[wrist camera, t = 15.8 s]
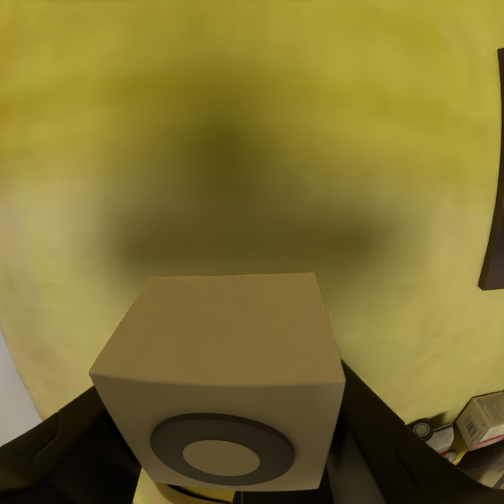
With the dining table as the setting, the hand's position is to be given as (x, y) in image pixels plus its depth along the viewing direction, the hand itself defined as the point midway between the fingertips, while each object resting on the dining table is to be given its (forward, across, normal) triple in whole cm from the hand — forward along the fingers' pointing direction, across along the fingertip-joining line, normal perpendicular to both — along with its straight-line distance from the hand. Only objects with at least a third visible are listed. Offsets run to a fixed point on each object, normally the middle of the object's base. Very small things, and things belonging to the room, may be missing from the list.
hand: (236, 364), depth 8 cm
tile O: (+1, 0, 0) cm, 1 cm away
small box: (+8, -22, +21) cm, 32 cm away
